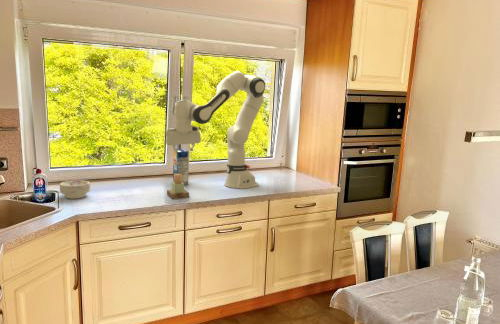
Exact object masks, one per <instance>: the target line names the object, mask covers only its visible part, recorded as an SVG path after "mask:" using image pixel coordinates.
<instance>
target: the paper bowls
mask: <svg viewBox="0 0 500 324" xmlns="http://www.w3.org/2000/svg"><path fill="white" fill-rule="evenodd" d="M59 192H60V194H62V195H64V197H65V198H67V199H72V200H75V199H82V198H84V197H86V195H87V193H90V192H91V182H90V181H88V180H82V179H79V180H78V179H76V180H75V179H74V180H67V181H62V182H60V183H59Z"/></svg>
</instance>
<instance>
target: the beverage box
mask: <svg viewBox="0 0 500 324" xmlns="http://www.w3.org/2000/svg"><path fill="white" fill-rule="evenodd" d="M177 149H178V152H176V153H175V152H174V148H173V149H172V151H173V152H172V153H173V154H172V157H173V158H172V160H173V161H172V162H173V164H172V166H173V171H172V173H173V174H172V178H173V179H172V182H174V174H182V182H183V183H184V187H185V186H189V163H190V162H189V154H190V153H189V151H190V150H186V149H184V148H177Z"/></svg>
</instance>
